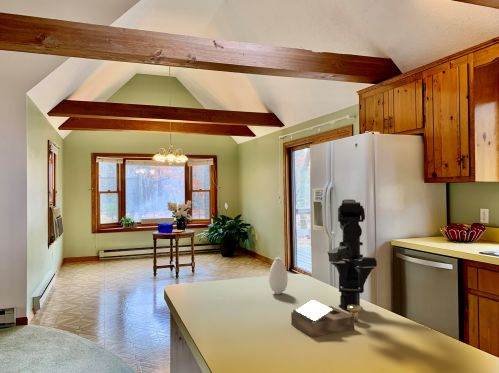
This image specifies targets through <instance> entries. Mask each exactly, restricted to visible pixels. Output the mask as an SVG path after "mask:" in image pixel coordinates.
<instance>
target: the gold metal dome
mask: <svg viewBox="0 0 499 373" xmlns="http://www.w3.org/2000/svg"><path fill="white" fill-rule="evenodd" d="M361 307H362V306H361V305H360V306H359V305H348V306H347V310H346V311H348V310H349V311H350V315H352V316H354V323H358V322H359V312H361V311H362V309H361ZM349 311H348V312H349Z"/></svg>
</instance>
